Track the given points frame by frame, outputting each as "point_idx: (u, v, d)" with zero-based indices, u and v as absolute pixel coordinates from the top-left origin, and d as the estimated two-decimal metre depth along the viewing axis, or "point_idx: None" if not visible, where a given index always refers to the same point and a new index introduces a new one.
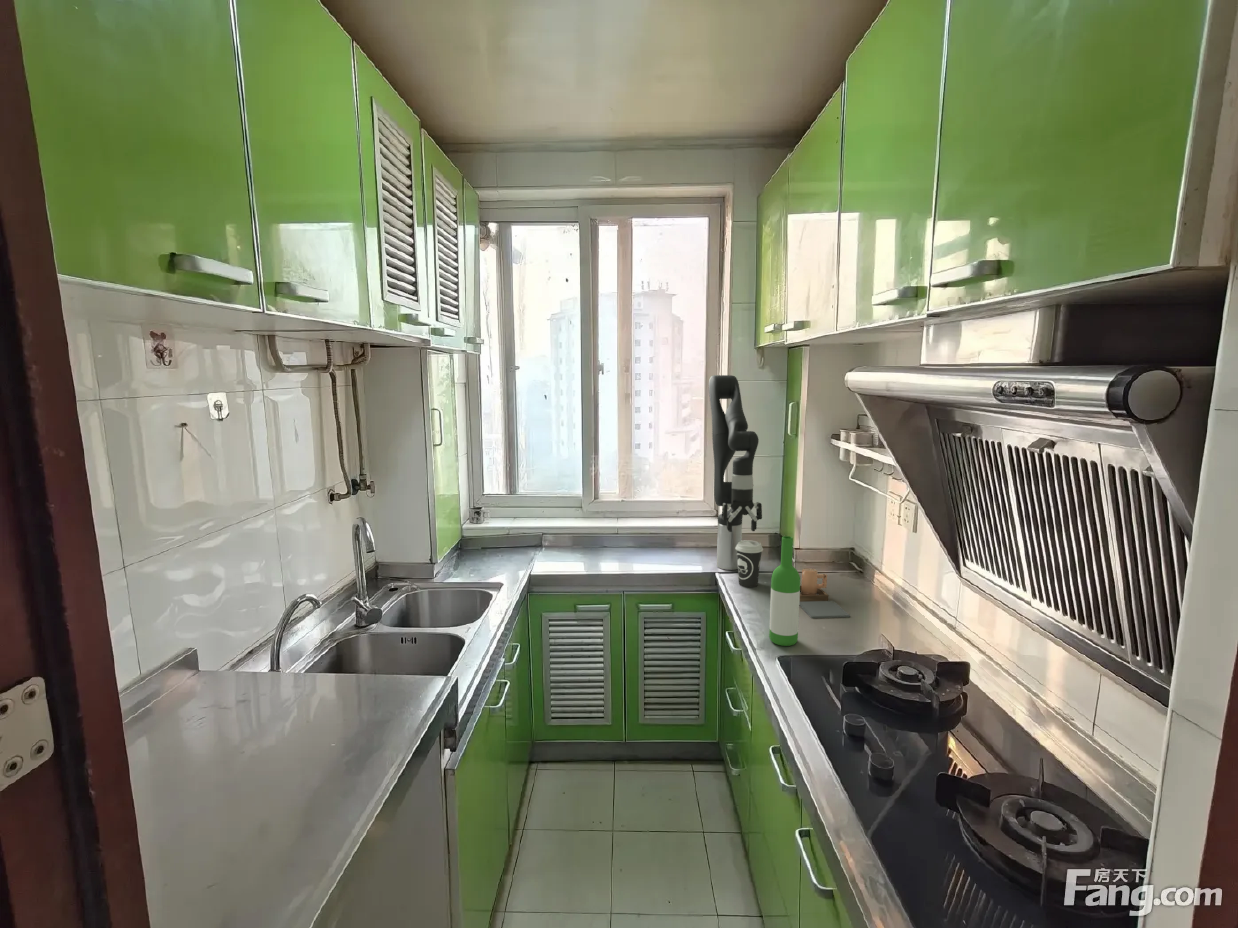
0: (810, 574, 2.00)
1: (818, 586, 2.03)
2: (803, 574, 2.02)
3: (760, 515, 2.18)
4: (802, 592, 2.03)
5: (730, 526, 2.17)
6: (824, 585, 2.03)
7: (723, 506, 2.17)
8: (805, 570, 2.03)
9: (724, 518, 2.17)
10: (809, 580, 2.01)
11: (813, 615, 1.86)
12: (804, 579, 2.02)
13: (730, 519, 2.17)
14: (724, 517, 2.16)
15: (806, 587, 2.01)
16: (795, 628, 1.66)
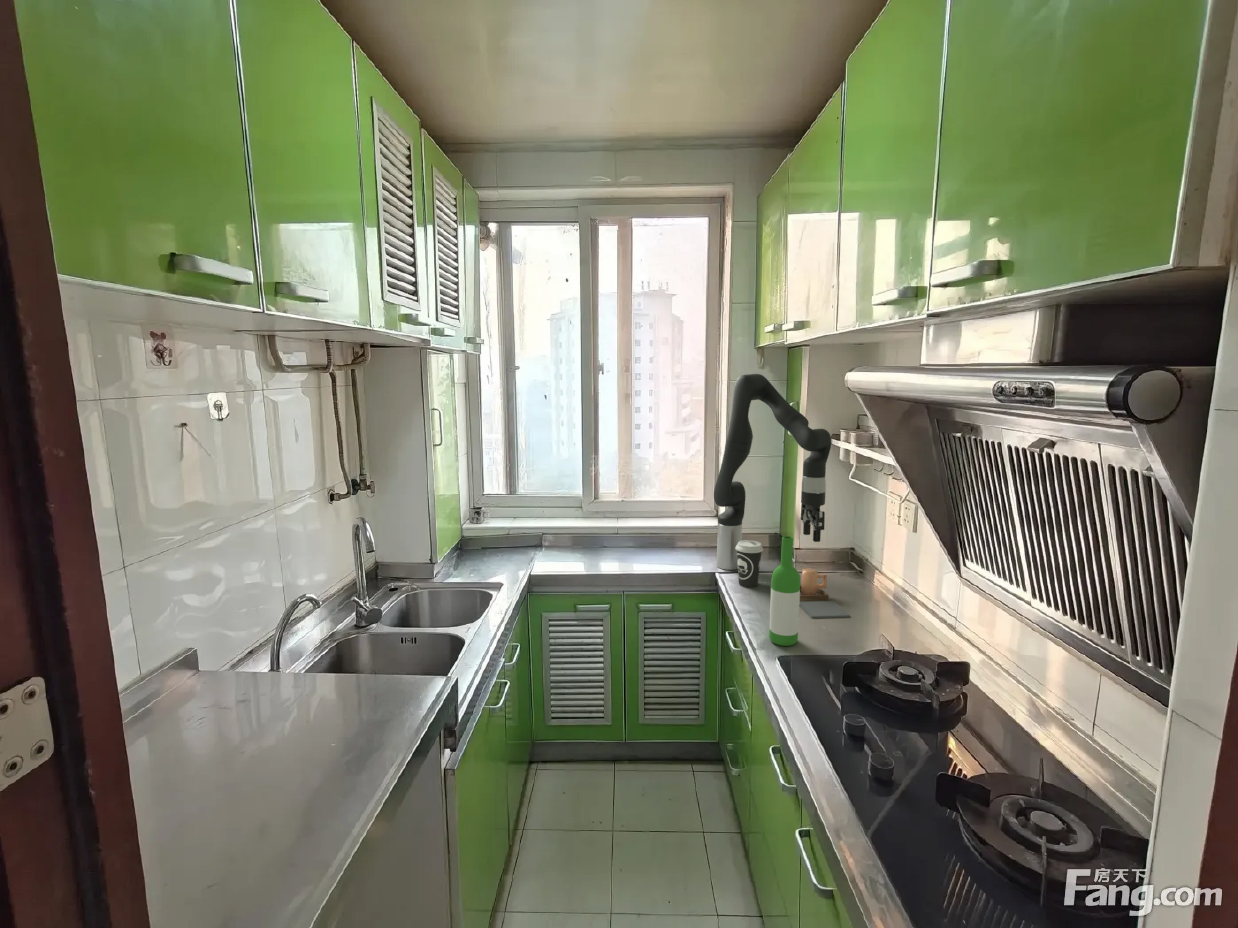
0: (810, 574, 2.00)
1: (818, 586, 2.03)
2: (803, 574, 2.02)
3: None
4: (802, 592, 2.03)
5: (820, 535, 1.96)
6: (824, 585, 2.03)
7: (821, 515, 1.93)
8: (805, 570, 2.03)
9: None
10: (809, 580, 2.01)
11: (813, 615, 1.86)
12: (804, 579, 2.02)
13: None
14: None
15: (806, 587, 2.01)
16: (795, 628, 1.66)
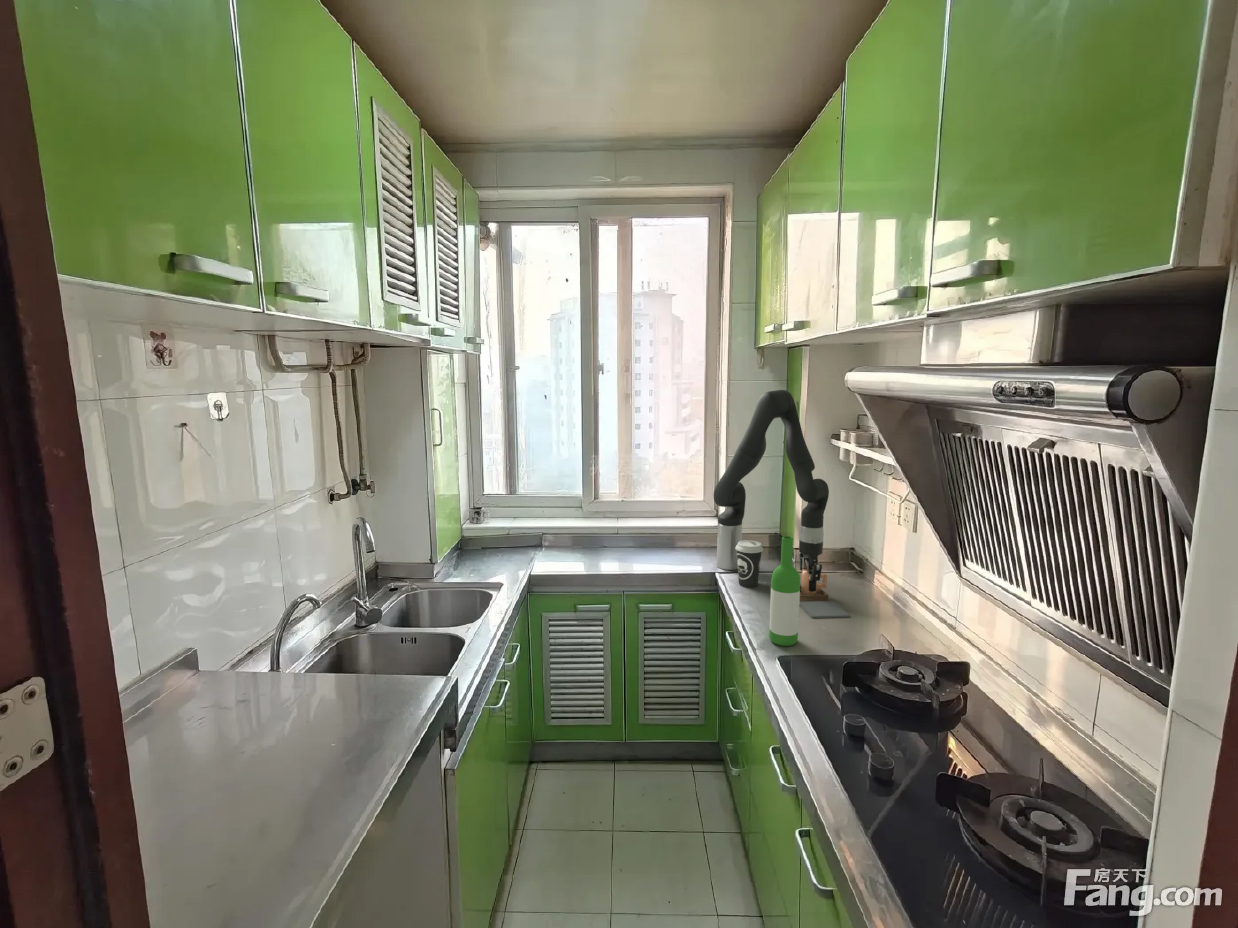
0: None
1: (818, 586, 2.03)
2: (803, 574, 2.02)
3: None
4: (802, 592, 2.03)
5: (815, 585, 2.00)
6: (824, 585, 2.03)
7: (818, 568, 1.96)
8: (805, 570, 2.03)
9: None
10: None
11: (813, 615, 1.86)
12: (804, 579, 2.02)
13: None
14: None
15: (806, 587, 2.01)
16: (795, 628, 1.66)
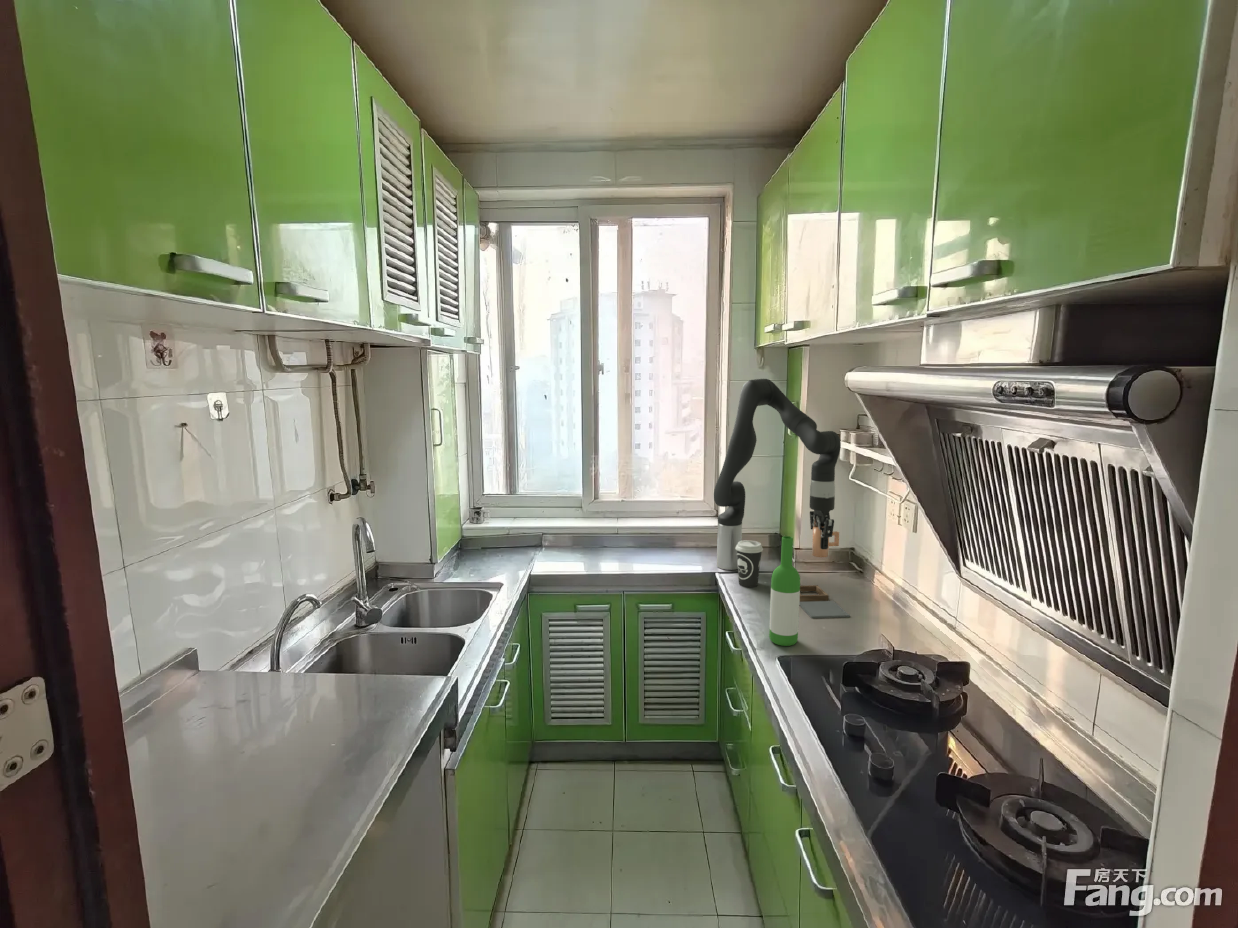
0: None
1: (830, 544, 1.94)
2: (814, 531, 1.93)
3: None
4: (813, 551, 1.94)
5: (827, 542, 1.91)
6: (836, 543, 1.94)
7: (830, 523, 1.87)
8: (816, 527, 1.94)
9: None
10: None
11: (813, 615, 1.86)
12: (815, 537, 1.93)
13: None
14: None
15: (818, 544, 1.92)
16: (795, 628, 1.66)
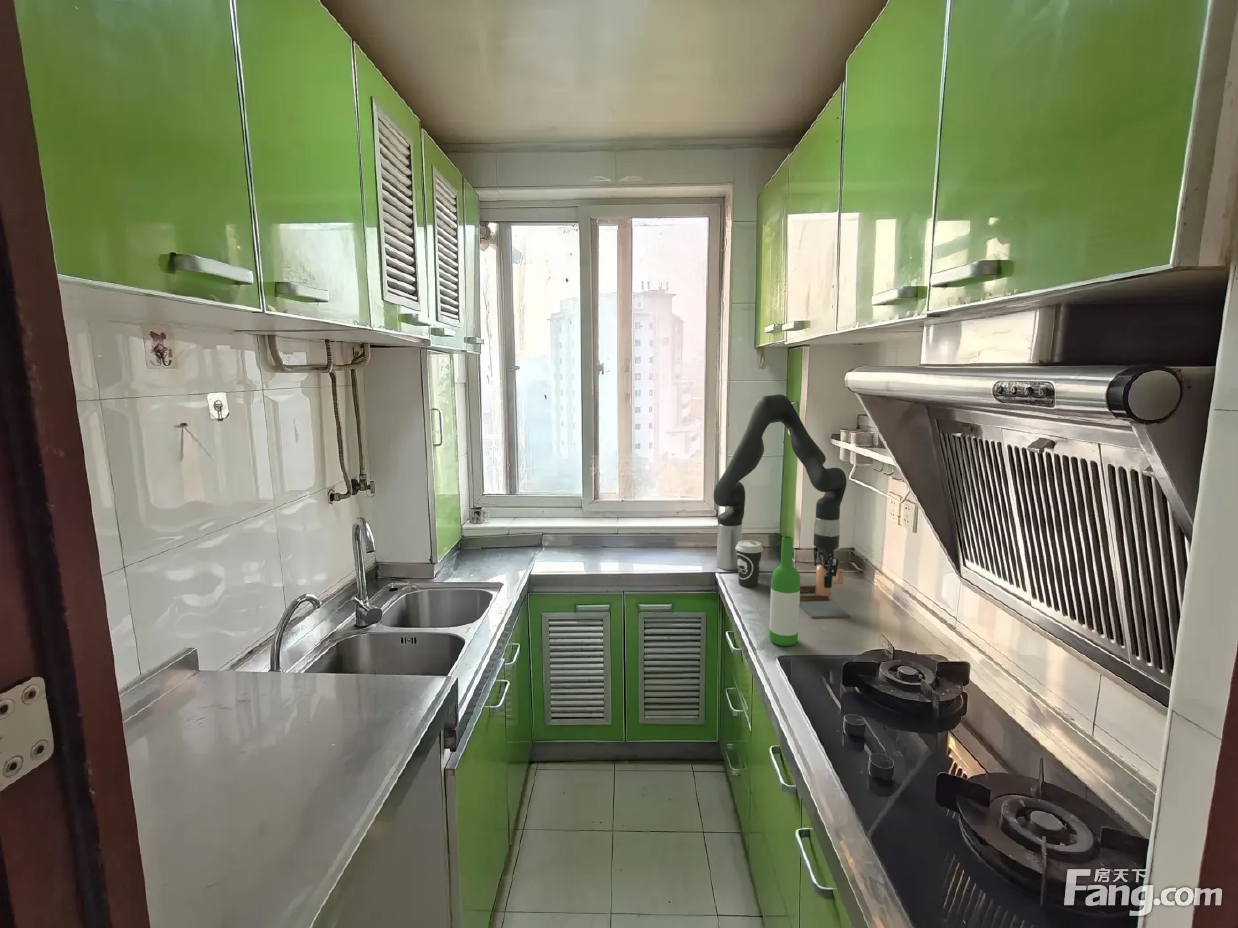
0: None
1: (834, 582, 1.90)
2: (818, 569, 1.89)
3: None
4: (817, 589, 1.90)
5: (831, 581, 1.88)
6: (840, 581, 1.90)
7: (834, 563, 1.83)
8: (820, 565, 1.90)
9: None
10: None
11: (813, 615, 1.86)
12: (819, 575, 1.89)
13: None
14: None
15: (821, 583, 1.89)
16: (795, 628, 1.66)
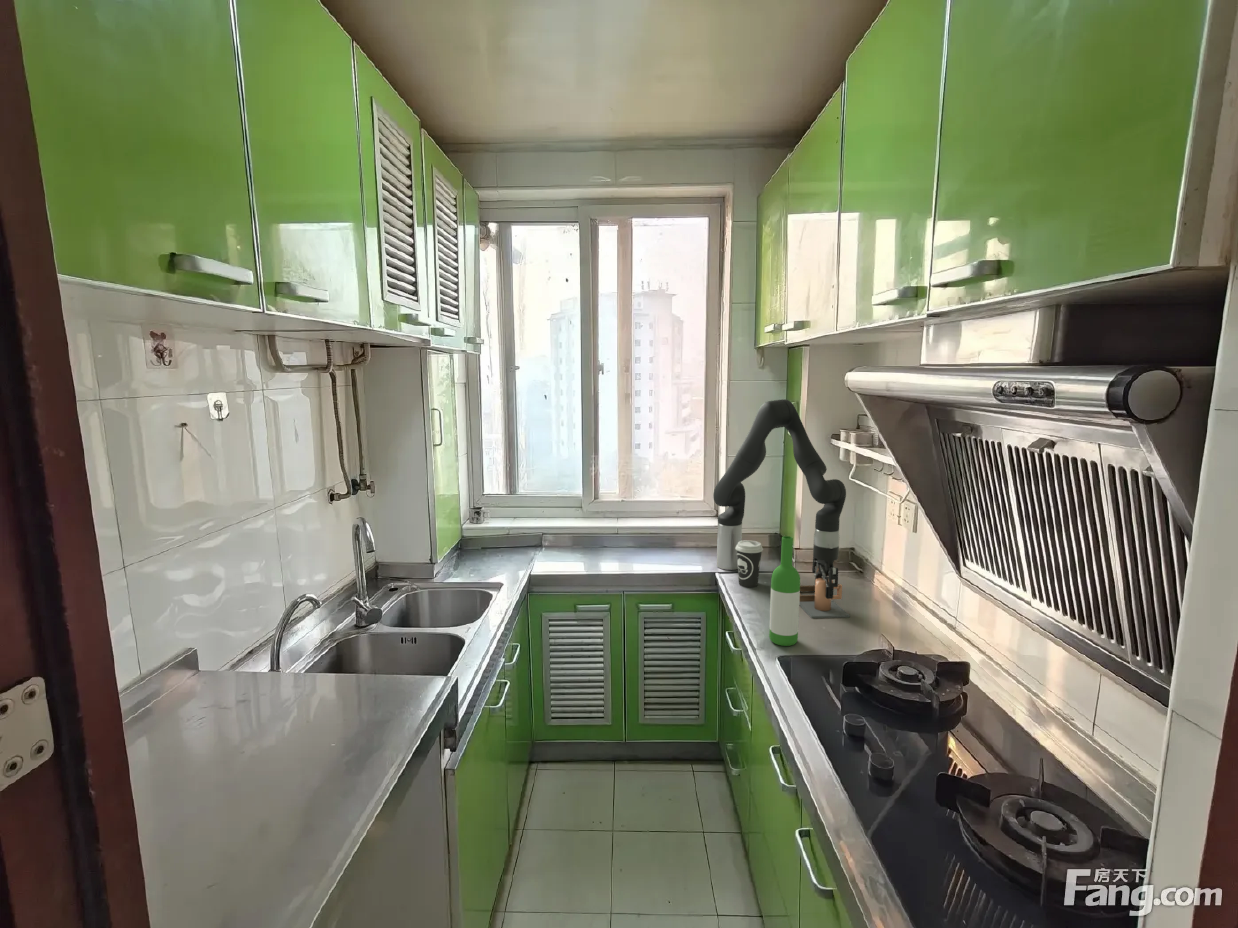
0: (824, 584, 1.88)
1: (833, 597, 1.91)
2: (817, 584, 1.90)
3: None
4: (816, 604, 1.91)
5: (833, 591, 1.87)
6: (839, 596, 1.91)
7: (834, 571, 1.83)
8: (819, 580, 1.91)
9: None
10: (823, 591, 1.89)
11: (813, 615, 1.86)
12: (817, 590, 1.90)
13: None
14: None
15: (820, 598, 1.90)
16: (795, 628, 1.66)
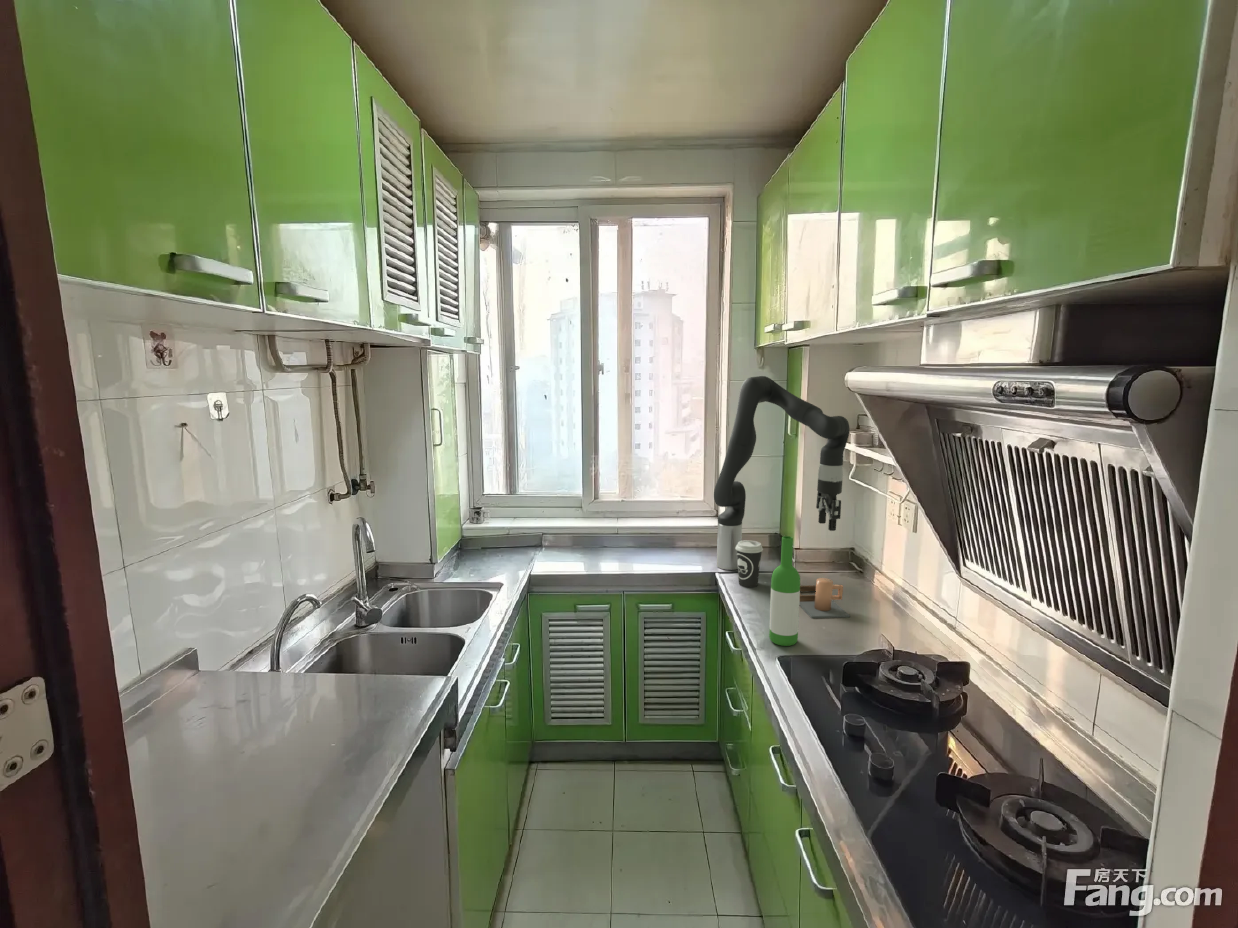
0: (825, 585, 1.88)
1: (833, 597, 1.91)
2: (817, 584, 1.90)
3: None
4: (816, 603, 1.91)
5: None
6: (839, 597, 1.91)
7: (837, 504, 1.90)
8: (820, 580, 1.91)
9: None
10: (824, 591, 1.89)
11: (813, 615, 1.86)
12: (818, 590, 1.90)
13: None
14: None
15: (820, 598, 1.89)
16: (795, 628, 1.66)
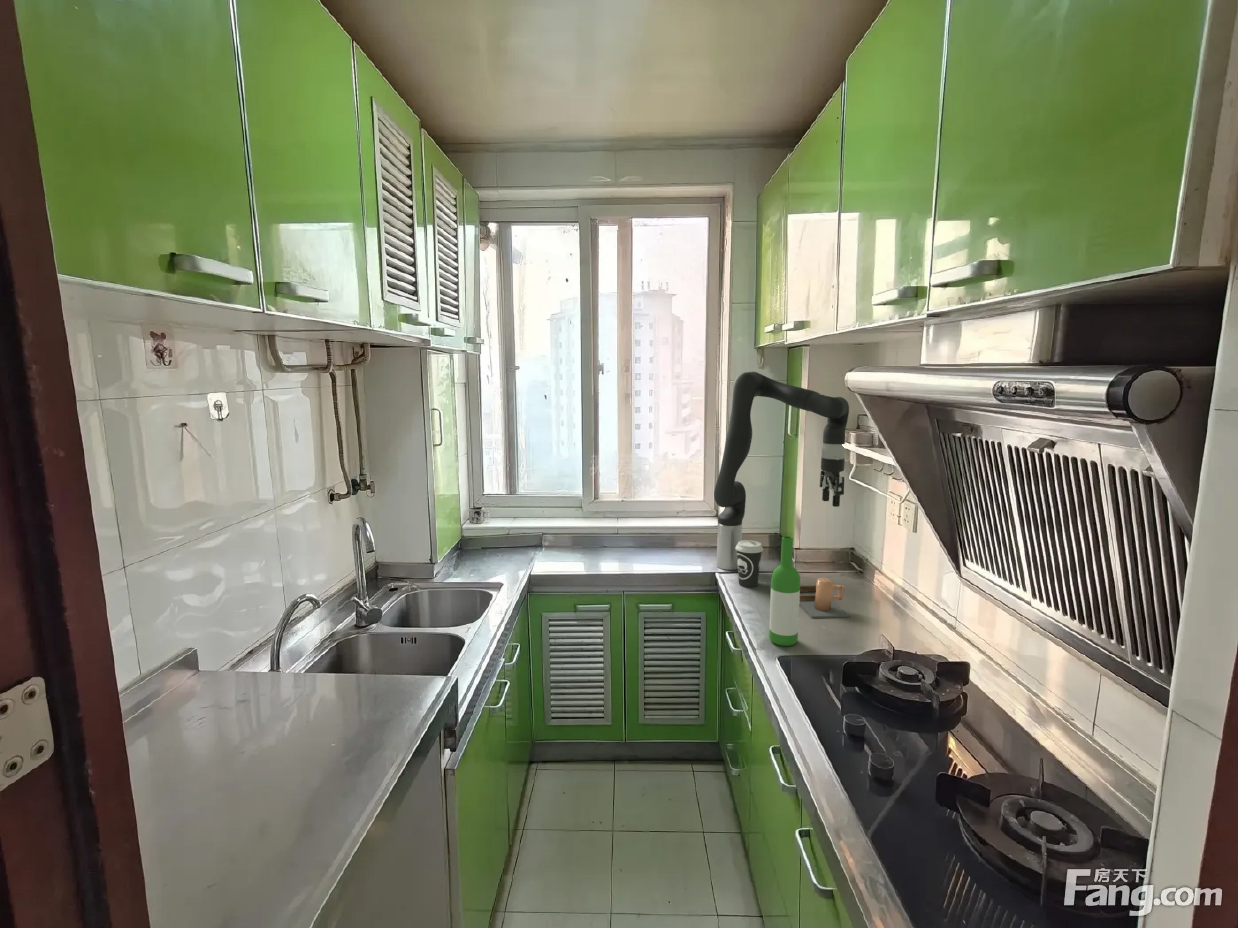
0: (825, 584, 1.88)
1: (833, 598, 1.91)
2: (818, 584, 1.90)
3: None
4: (816, 603, 1.91)
5: (839, 500, 2.02)
6: (840, 597, 1.91)
7: (840, 480, 1.99)
8: (820, 580, 1.91)
9: None
10: (823, 591, 1.89)
11: (813, 615, 1.86)
12: (818, 589, 1.90)
13: None
14: None
15: (820, 597, 1.90)
16: (795, 628, 1.66)
